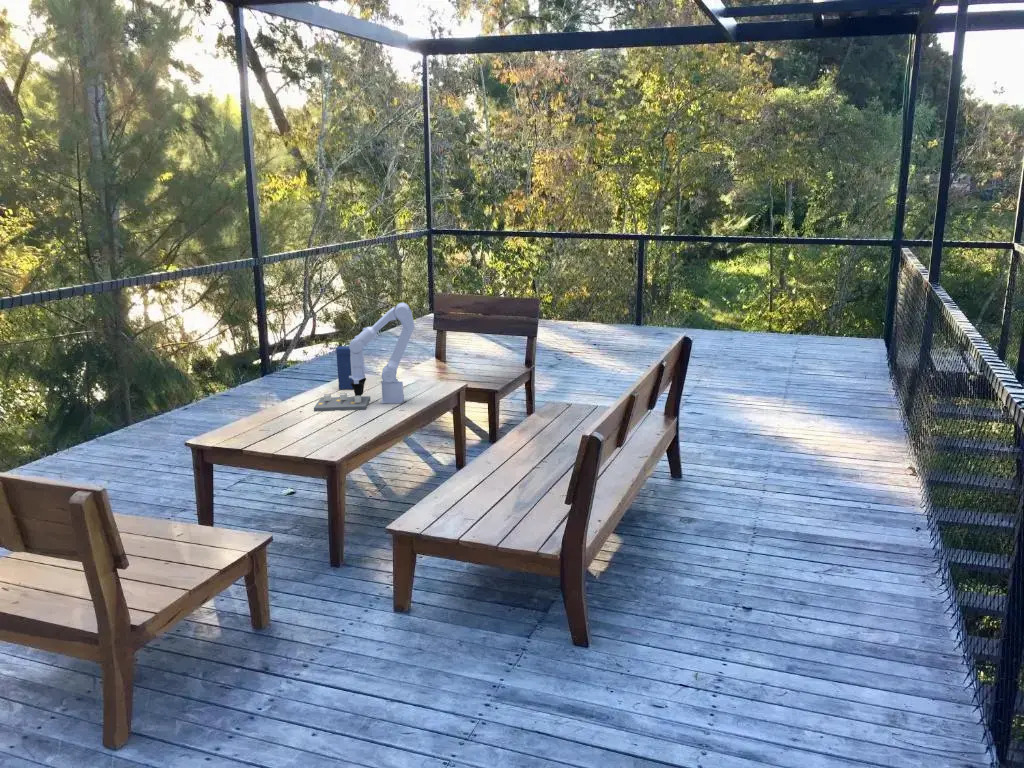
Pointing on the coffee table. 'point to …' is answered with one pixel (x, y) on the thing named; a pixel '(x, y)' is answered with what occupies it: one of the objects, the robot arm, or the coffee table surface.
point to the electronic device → (344, 367)
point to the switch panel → (342, 404)
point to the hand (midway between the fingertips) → (359, 396)
